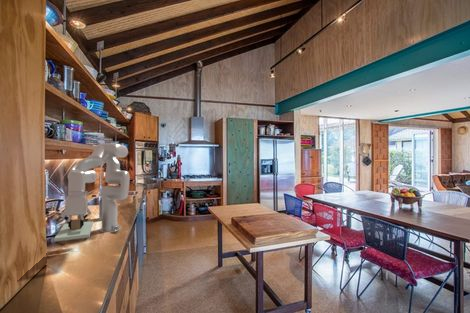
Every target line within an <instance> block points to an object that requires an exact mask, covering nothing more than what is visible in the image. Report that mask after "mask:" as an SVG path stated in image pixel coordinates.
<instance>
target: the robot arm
mask: <svg viewBox="0 0 470 313" xmlns="http://www.w3.org/2000/svg"><path fill="white" fill-rule="evenodd" d="M128 154H129V150H128V147H127V146H126V145H123V144H119V143H113V142H102V143H99V144H98V145H97V146H96V147H95V149H94V150H93V151H92V152H91V154H90V155H89V156H88V157H85V158H83V159H82V160H79V161H77V162H76V163H74V165H72V167H71V168H70V170H69V171H68V173H67V180H68V185H67V186H68V187H67V189H68V190H67V194H68V195H67V196H66V198H65V203H64V210H63V211H62V213H60V217H61V218H63V219H64V220H65V221H66V220H67V221H68V227H70V229H71V221H72V220H73V219H72V217H73V216H78V215H80V216H81V221H80V228H82V226H84V219H87V218H88V217H89V216H90V215H92V211H91V210H90V209H89V207H88V206H89V205H88V204H89V203H88V202H89V201H88V196H87V194H89V191H88V190H86V184H91V183H95V182H96V180H97V179H98V173H97V172H96V171H95V170H94V169H93V168H97V167H101V166H102V165H103V164H104V163H106V166H105V168H106V169H105V175H104V176H105V178H104V182H106V184H111V185H106V186H103V187H102V188H100V189H101V190H100V198H101V199H102V220H101V228H100V229H98V230H99V232H101V233H110V234H112V233H115V232H116V233H117V232H118V231H119V230H122V225H119V222H118V203H117V201H116V200H126V199H128V196H129V191H130V180H131V175H130V172H129V171H127V170H120V166H121V164H120V163H121V162H120V161H119V159H120V158H121V159H122V158H126V157H127V156H128ZM118 158H119V159H118ZM105 161H106V162H105ZM92 169H93V170H92ZM112 184H114V185H112ZM84 214H85V216H84Z"/></svg>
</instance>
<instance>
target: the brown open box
mask: <svg viewBox="0 0 470 313" xmlns="http://www.w3.org/2000/svg"><path fill="white" fill-rule="evenodd" d="M90 221H91V218H88V217H86V218H85V219H84V222H90ZM64 224H68V221H66V220H65V221H64V223H63V224H62V225H61V226H60V228H59V230H58V231H57V233H58V232H59V231H60V230H61V228H62V227H63V225H64ZM75 235H76V234H75ZM87 238H88V237H87ZM87 238H79V239H71V240H63V241H57V245H58V244H59V245H60V244H68V243H76V242H82V241H86V240H87Z"/></svg>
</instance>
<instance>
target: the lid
mask: <svg viewBox="0 0 470 313" xmlns="http://www.w3.org/2000/svg"><path fill="white" fill-rule="evenodd" d="M80 221H81V219H77V218H76V219H74V218H73V219H72V221H71V229H70V227H68V224H64V223H63V224H64V225H63V224H62V225H63V227H62V226H61V227H62V228H61V227H60V228H61V230H60V229H59V230H60V231H59V230H58V231H59V232H58V231H57V233H56V235H55V237H54V238H53V242H54V243H56V242H58V241H63V240H71V239H79V238H90V235H91V232H92V228H93V226H94V221H91V220H90V222H84V226H82V228H80ZM75 234H76V235H75Z"/></svg>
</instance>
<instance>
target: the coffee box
mask: <svg viewBox="0 0 470 313" xmlns="http://www.w3.org/2000/svg"><path fill="white" fill-rule="evenodd" d="M98 203H99V204H98V205H99V210H98V211H99V212H98V215H99V216H98V218H99V221H102V198H101V199H100V200H99V201H98Z"/></svg>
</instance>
